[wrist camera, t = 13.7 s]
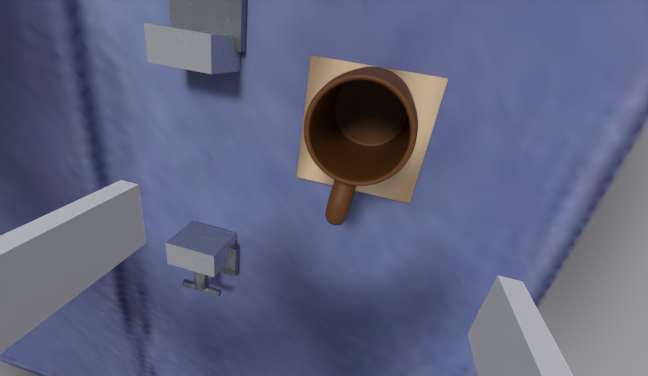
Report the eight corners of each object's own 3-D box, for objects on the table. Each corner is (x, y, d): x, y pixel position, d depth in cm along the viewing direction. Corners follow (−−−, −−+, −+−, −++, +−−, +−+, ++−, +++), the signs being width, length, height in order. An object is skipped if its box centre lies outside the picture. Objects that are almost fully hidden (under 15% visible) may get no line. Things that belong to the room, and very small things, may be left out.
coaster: (297, 175, 33) (296, 177, 32) (312, 55, 27) (310, 55, 27) (409, 201, 31) (409, 203, 30) (447, 78, 26) (448, 78, 25)
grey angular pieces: (191, 268, 42) (167, 293, 38) (176, -13, 28) (133, -25, 23) (238, 281, 41) (218, 309, 37) (247, -2, 27) (216, -13, 22)
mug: (383, 199, 31) (377, 252, 23) (313, 177, 32) (281, 221, 23) (427, 78, 26) (439, 89, 17) (341, 55, 26) (313, 56, 18)
